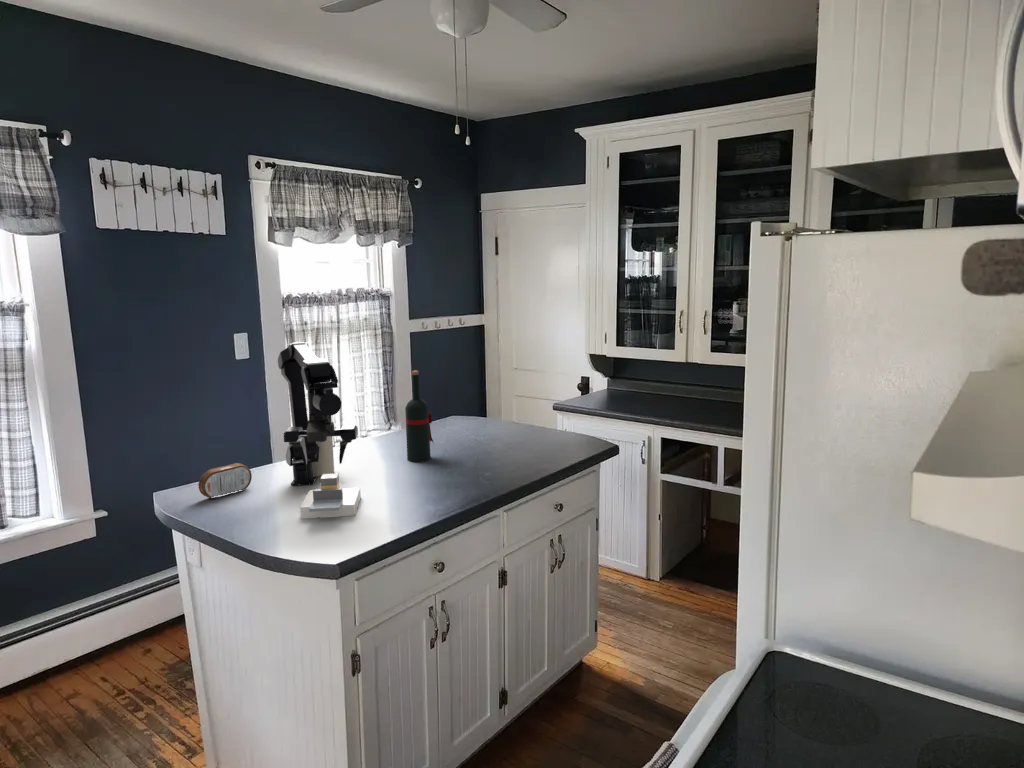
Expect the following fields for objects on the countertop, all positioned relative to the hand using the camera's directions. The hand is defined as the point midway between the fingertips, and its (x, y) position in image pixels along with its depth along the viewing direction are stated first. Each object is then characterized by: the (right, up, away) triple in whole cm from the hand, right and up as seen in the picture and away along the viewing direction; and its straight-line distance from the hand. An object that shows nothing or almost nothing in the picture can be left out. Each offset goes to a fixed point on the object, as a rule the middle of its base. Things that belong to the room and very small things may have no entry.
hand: (323, 464), depth 184 cm
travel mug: (-9, -7, +30) cm, 32 cm away
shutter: (+3, -10, -9) cm, 13 cm away
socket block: (+2, -12, -1) cm, 12 cm away
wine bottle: (+21, -4, +45) cm, 50 cm away
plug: (+2, -12, -1) cm, 12 cm away
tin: (-31, -10, +12) cm, 35 cm away
